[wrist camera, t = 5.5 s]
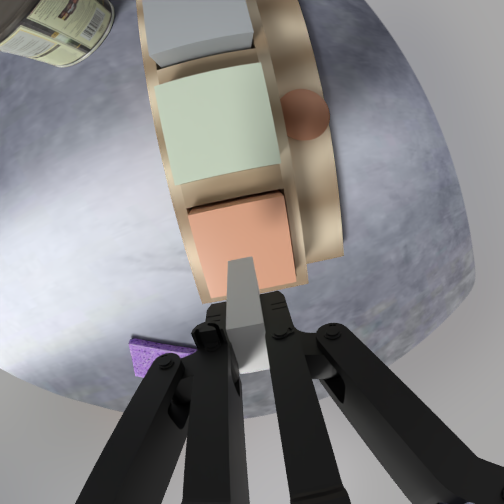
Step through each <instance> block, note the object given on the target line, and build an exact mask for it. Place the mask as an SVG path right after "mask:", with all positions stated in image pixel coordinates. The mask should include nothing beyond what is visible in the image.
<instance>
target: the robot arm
mask: <svg viewBox="0 0 504 504" xmlns="http://www.w3.org/2000/svg"><path fill="white" fill-rule="evenodd" d="M191 334H192V337H193V339H194V342H195V344H196V346H197V351H196V352H194V353H193V354H191V355H188V356H185V357H183V358H180V356H179V355H177V354H175V353H165V354H162V355H160V356H159V357H157V358H156V359H155V360H154V361H153V363H152V365H151V366H150V368H149V370H148V371H147V373H146V375H145V377H144V378H143V380H142V382H141V383H140V385H139V387H138V389H137V390H136V392H135V394H134V396H133V397H132V399H131V401H130V403H129V404H128V406H127V408H126V410H125V411H124V413H123V415H122V417H121V419H120V420H119V422H118V424H117V426H116V428H115V429H114V431H113V433H112V435H111V437H110V439H109V440H108V442H107V444H106V446H105V447H104V449H103V451H102V453H101V455H100V457H99V459H98V461H97V462H96V464H95V466H94V468H93V470H92V472H91V474H90V476H89V478H88V480H87V481H86V483H85V485H84V487H83V489H82V491H81V493H80V495H79V497H78V499H77V501H76V503H75V504H161V503H162V500H163V497H164V495H165V492H166V490H167V487H168V485H169V482H170V479H171V477H172V474H173V471H174V469H175V466H176V464H177V461H178V458H179V456H180V453H181V451H182V448H183V445H184V443H185V440H186V437H187V444H186V456H185V457H186V458H185V470H184V484H183V499H182V503H181V504H250V502H249V489H248V477H247V463H246V450H245V449H246V448H245V434H244V418H243V402H242V384H241V380H240V377H239V371H240V374H244V373H250V372H256V371H262V370H267V369H270V373H271V379H272V385H273V392H274V398H275V404H276V411H277V417H278V423H279V429H280V435H281V442H282V448H283V455H284V461H285V467H286V474H287V480H288V486H289V492H290V503H291V504H351V502H350V499H349V496H348V493H347V491H346V489H345V488H344V487H343V484H342V481H341V478H340V474H339V471H338V467H337V463H336V460H335V456H334V453H333V449H332V446H331V442H330V439H329V435H328V432H327V429H326V425H325V422H324V418H323V415H322V412H321V408H320V405H319V401H318V398H317V395H316V391H315V388H314V385H313V381H312V379H319V381H320V382H321V384H322V385H323V386H324V388H325V389H326V391H327V392H328V393H329V395H330V396H331V397H332V399H333V400H334V402H335V403H336V404H337V406H338V407H339V408H340V409H341V411H342V412H343V414H344V415H345V416H346V418H347V419H348V421H349V422H350V423H351V425H352V426H353V427H354V428H355V430H356V431H357V433H358V434H359V435H360V437H361V438H362V439H363V441H364V442H365V443H366V445H367V446H368V447H369V449H370V450H371V451H372V453H373V454H374V455H375V457H376V458H377V459H378V461H379V462H380V463H381V465H382V466H383V467H384V469H385V470H386V471H387V472H388V474H389V475H390V476H391V478H392V479H393V480H394V481H395V483H396V484H397V485H398V487H399V488H400V489H401V490H402V492H403V493H404V494H405V496H406V497H407V498H408V499H409V500H410V501H411V502H412V504H504V467H502V466H499V465H496V464H494V463H491V462H488V461H486V460H483V459H481V458H478V457H477V456H476V455H475V454H474V453H473V452H472V451H471V450H470V449H469V448H468V447H467V446H466V445H465V444H464V443H463V442H462V441H461V440H460V439H459V438H458V437H457V436H456V435H455V434H454V433H453V432H452V431H451V430H450V429H449V428H448V427H447V426H446V425H445V424H444V423H443V422H442V421H441V420H440V419H439V418H438V417H437V416H436V415H435V414H434V413H433V412H432V411H431V410H430V409H429V408H428V407H427V406H426V405H425V404H424V403H423V402H422V401H421V400H420V399H419V398H418V397H417V396H416V395H415V394H414V393H413V392H412V391H411V390H410V389H409V388H408V387H407V386H406V385H405V384H404V383H403V382H402V381H401V380H400V379H399V378H398V377H397V376H396V375H395V374H394V373H393V372H392V371H391V370H390V369H389V368H388V367H387V366H386V365H385V364H384V363H383V362H382V361H381V360H380V359H379V358H378V357H377V356H376V355H375V354H374V353H373V352H372V351H371V350H370V349H369V348H368V347H367V346H365V345H364V344H363V343H362V342H361V341H360V340H359V339H358V338H357V337H356V336H355V335H354V334H353V333H352V332H351V331H350V330H349V329H348V328H347V327H346V326H344V325H342V324H339V323H329V324H325V325H323V326H321V327H320V328H319V329H318V330H317V333H305V332H301V331H299V330H297V329H296V328H295V327H294V325H293V322H292V319H291V316H290V313H289V310H288V307H287V303H286V300H285V297H284V295H283V294H282V293H280V292H279V291H275V292H270V293H265V294H260V291H259V286H258V281H257V276H256V271H255V267H254V262H253V257H252V256H251V257H246V258H241V259H236V260H231V261H228V272H227V302H221V303H216V304H211V306H210V307H209V308H208V310H207V314H206V321H205V322H204V323H201V324H199V325H197V326H196V327H195V328H194V329H193V330H192V333H191Z"/></svg>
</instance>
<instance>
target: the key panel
mask: <svg viewBox="0 0 504 504" xmlns="http://www.w3.org/2000/svg"><path fill="white" fill-rule="evenodd" d="M245 1H246V4H247V8H248V12H249V16H250V20H251V23H252V27H253V31H254V33H253V39H252V44H251V49H247V50H240V51H234V52H229V53H223V54H218V55H213V56H208V57H204V58H200V59H195V60H191V61H187V62H184V63H180V64H176V65H173V66H169V67H166V68H163V69H162V68H161V67H160V66H159V65H158V64H157V63H156V62H155V61H154V60H153V59H152V58H151V57H150V56H149V52H148V45H147V38H146V30H145V22H144V13H143V4H142V0H136V5H137V15H138V25H139V33H140V41H141V49H142V56H143V63H144V69H145V76H146V82H147V88H148V93H149V99H150V104H151V110H152V115H153V120H154V125H155V130H156V135H157V139H158V144H159V149H160V153H161V158H162V162H163V166H164V170H165V175H166V179H167V183H168V187H169V191H170V195H171V199H172V203H173V207H174V210H175V214H176V218H177V221H178V225H179V229H180V232H181V236H182V239H183V243H184V246H185V250H186V253H187V257H188V260H189V263H190V266H191V270H192V273H193V276H194V279H195V283H196V286H197V289H198V292H199V295H200V298H201V301H202V304H205V303H211V302H217V301H222V300H227V296H222V297H216V298H211V297H210V293H209V290H208V287H207V283H206V280H205V277H204V273H203V270H202V266H201V263H200V259H199V256H198V252H197V249H196V245H195V242H194V238H193V234H192V231H191V227H190V223H189V219H188V214H189V213H190V211H191V210H192V208H193V207H194V206H199V205H203V204H208V203H212V202H217V201H221V200H226V199H231V198H236V197H241V196H246V195H251V194H256V193H261V192H266V191H272V190H277V189H278V190H279V191H280V192H281V193H282V194H283V196H284V200H285V206H286V212H287V219H288V225H289V232H290V238H291V245H292V252H293V259H294V267H295V274H296V282H293V283H289V284H284V285H279V286H274V287H269V288H264V289H259V291H260V293H265V292H270V291H275V290H280V289H285V288H289V287H294V286H299V285H304V284H308V274H307V265H306V264H308V263H313V262H318V261H323V260H327V259H332V258H337V257H341V256H344V252H343V236H342V223H341V212H340V202H339V192H338V183H337V175H336V168H335V160H334V153H333V147H332V140H331V134H330V128H329V120H330V113H329V108H328V106H327V104H326V102H325V101H324V97H323V92H322V87H321V83H320V78H319V74H318V69H317V65H316V61H315V57H314V53H313V49H312V46H311V42H310V38H309V35H308V31H307V28H306V24H305V21H304V18H303V15H302V11H301V8H300V5H299V2H298V0H245ZM260 62H261V65H262V69H263V74H264V78H265V83H266V87H267V92H268V97H269V102H270V106H271V111H272V116H273V121H274V126H275V132H276V137H277V142H278V148H279V153H280V159H281V163H280V164H274V165H268V166H263V167H257V168H252V169H247V170H242V171H237V172H232V173H227V174H222V175H218V176H213V177H209V178H204V179H200V180H196V181H192V182H188V183H184V184H180V185H176V186H175V184H174V179H173V175H172V171H171V167H170V162H169V158H168V154H167V149H166V144H165V140H164V135H163V130H162V126H161V121H160V116H159V110H158V105H157V100H156V94H155V89H154V86H157V85H160V84H163V83H167V82H170V81H173V80H177V79H180V78H184V77H188V76H192V75H196V74H200V73H204V72H209V71H213V70H218V69H223V68H228V67H234V66H240V65H246V64H252V63H260Z"/></svg>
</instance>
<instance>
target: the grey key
mask: <svg viewBox="0 0 504 504" xmlns="http://www.w3.org/2000/svg"><path fill="white" fill-rule="evenodd" d="M142 4H143V13H144V22H145V30H146V38H147V45H148V52H149V56H150V57H151V58H152V59H153V60H154V61H155V62H156V63H157V64H158V65H159V66H160V67H161V68H162V69H163V68H166V67H169V66H173V65H176V64H180V63H184V62H187V61H191V60H195V59H200V58H204V57H208V56H213V55H218V54H223V53H229V52H234V51H240V50H247V49H251V44H252V39H253V33H254V31H253V27H252V23H251V20H250V16H249V12H248V8H247V4H246V1H245V0H142Z"/></svg>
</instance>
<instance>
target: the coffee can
mask: <svg viewBox="0 0 504 504" xmlns="http://www.w3.org/2000/svg"><path fill="white" fill-rule="evenodd" d="M113 20H114V8H113V6H112V4H111V3H110V2H109V1H108V0H0V51H2V52H7V53H11V54H16V55H20V56H24V57H27V58H31V59H35V60H38V61H42V62H46V63H49V64H52V65H54V66H56V67H69V66H72V65H75V64H77V63H79V62H80V61H82V60H84V59H85V58H87V57H88V56H89V55H91V54H92V53H93V52H94V51H95V50H96V49H97V48H98V47H99V46H100V45H101V43H102V42H103V41H104V39H105V38H106V36H107V35H108V33H109V31H110V29H111V27H112V24H113Z"/></svg>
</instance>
